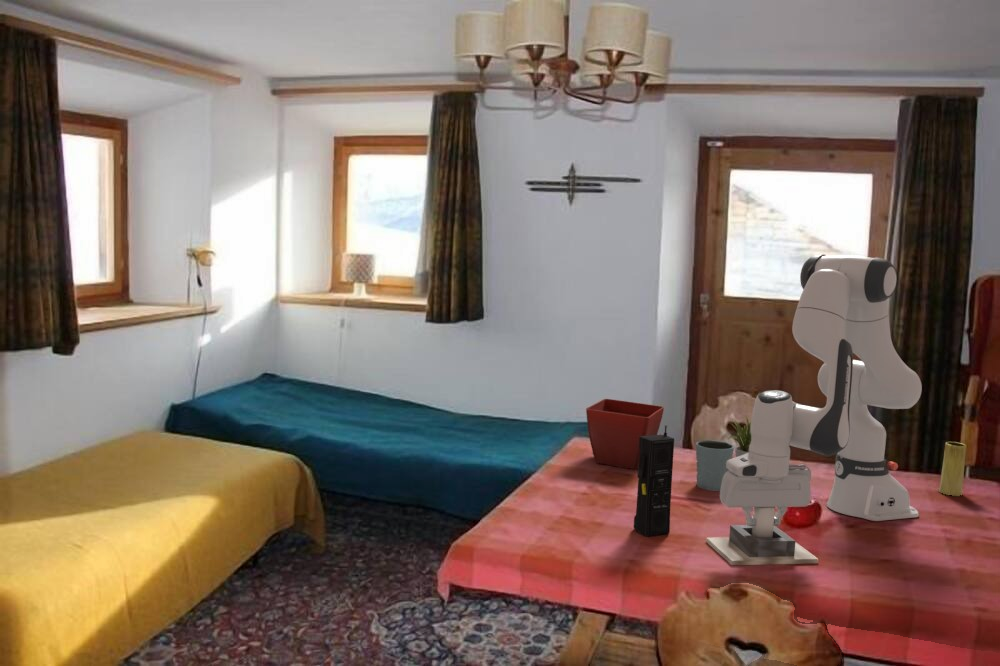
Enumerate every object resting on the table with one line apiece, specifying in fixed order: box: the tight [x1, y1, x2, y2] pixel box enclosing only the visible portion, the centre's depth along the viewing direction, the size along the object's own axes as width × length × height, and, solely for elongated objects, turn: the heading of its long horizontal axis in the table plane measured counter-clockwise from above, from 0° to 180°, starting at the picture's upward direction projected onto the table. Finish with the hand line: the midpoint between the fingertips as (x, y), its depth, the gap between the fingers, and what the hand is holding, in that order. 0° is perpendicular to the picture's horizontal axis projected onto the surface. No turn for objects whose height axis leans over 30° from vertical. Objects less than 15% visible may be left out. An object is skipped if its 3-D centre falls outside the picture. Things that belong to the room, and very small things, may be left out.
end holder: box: [705, 524, 819, 566], centre depth 203 cm, size 20×14×4 cm
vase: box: [938, 441, 967, 497], centre depth 256 cm, size 6×6×14 cm
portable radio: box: [633, 425, 675, 537], centre depth 212 cm, size 8×6×25 cm
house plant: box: [728, 416, 751, 457], centre depth 270 cm, size 14×14×16 cm
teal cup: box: [695, 439, 735, 492], centre depth 252 cm, size 10×10×12 cm
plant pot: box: [585, 398, 665, 470], centre depth 273 cm, size 19×19×17 cm
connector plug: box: [752, 507, 776, 538], centre depth 203 cm, size 4×4×8 cm
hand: (763, 525), depth 203 cm, fingers closed on connector plug, 4 cm apart
